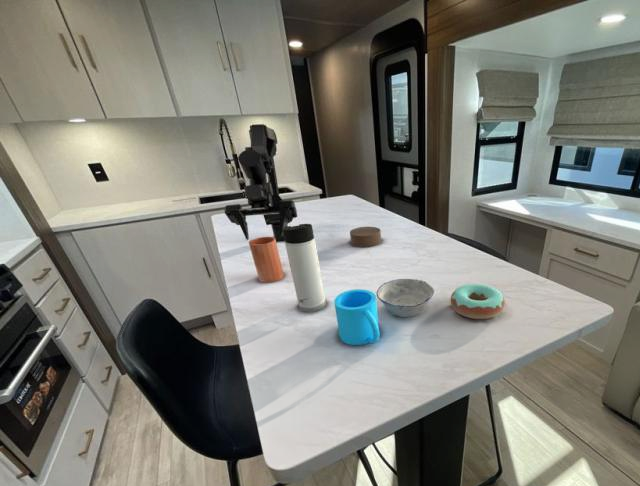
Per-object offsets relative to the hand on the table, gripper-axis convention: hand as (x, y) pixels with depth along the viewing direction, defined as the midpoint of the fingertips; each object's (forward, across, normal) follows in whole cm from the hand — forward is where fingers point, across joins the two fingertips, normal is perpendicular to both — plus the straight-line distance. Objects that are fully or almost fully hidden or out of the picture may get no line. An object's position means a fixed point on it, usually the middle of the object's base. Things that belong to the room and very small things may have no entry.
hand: (264, 237), depth 90 cm
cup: (+10, 0, +5) cm, 11 cm away
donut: (+33, +49, -18) cm, 62 cm away
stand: (-5, +30, +20) cm, 37 cm away
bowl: (+30, +33, -14) cm, 47 cm away
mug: (+36, +22, -21) cm, 47 cm away
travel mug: (+25, +12, -9) cm, 29 cm away
